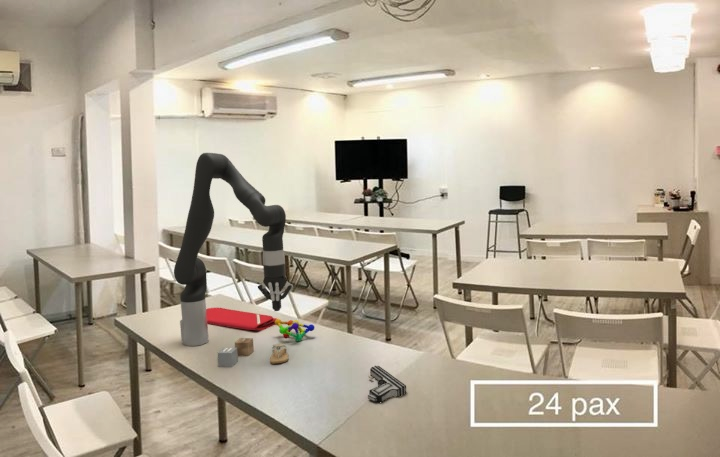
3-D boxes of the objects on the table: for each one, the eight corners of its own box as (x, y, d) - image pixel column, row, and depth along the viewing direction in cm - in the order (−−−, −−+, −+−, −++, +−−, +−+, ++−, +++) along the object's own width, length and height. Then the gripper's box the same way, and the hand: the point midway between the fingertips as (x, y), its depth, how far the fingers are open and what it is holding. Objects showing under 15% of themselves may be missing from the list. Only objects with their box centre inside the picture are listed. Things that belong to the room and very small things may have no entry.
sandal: (270, 366, 176) (269, 352, 175) (268, 350, 191) (267, 337, 190) (290, 364, 177) (289, 350, 177) (286, 348, 193) (285, 335, 192)
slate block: (218, 366, 177) (217, 352, 176) (224, 361, 182) (223, 346, 181) (232, 367, 176) (231, 352, 176) (238, 361, 181) (236, 347, 181)
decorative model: (298, 320, 213) (318, 318, 201) (297, 342, 211) (317, 341, 199) (270, 319, 205) (289, 316, 193) (269, 341, 203) (288, 340, 191)
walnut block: (235, 355, 187) (234, 342, 186) (240, 350, 191) (240, 337, 191) (248, 356, 186) (247, 342, 185) (253, 351, 191) (252, 337, 190)
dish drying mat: (214, 312, 245) (214, 304, 245) (281, 323, 224) (280, 315, 223) (188, 321, 232) (187, 313, 232) (255, 334, 211) (255, 325, 210)
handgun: (372, 396, 145) (409, 386, 150) (345, 372, 162) (379, 364, 167) (373, 406, 145) (409, 396, 150) (345, 381, 162) (379, 373, 167)
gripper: (252, 264, 177) (255, 313, 180) (289, 264, 175) (292, 313, 177) (259, 260, 185) (262, 307, 187) (295, 260, 183) (298, 307, 185)
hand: (277, 310), depth 182 cm, fingers closed
